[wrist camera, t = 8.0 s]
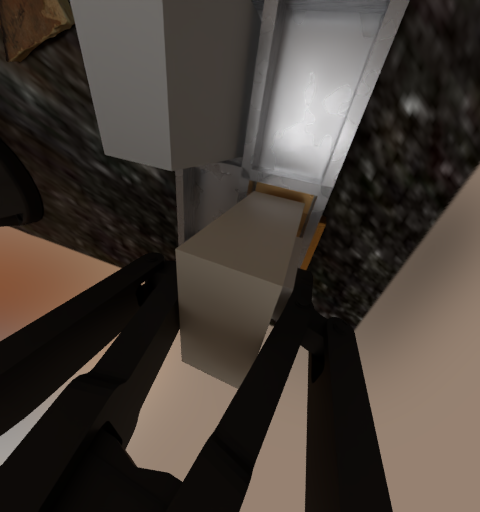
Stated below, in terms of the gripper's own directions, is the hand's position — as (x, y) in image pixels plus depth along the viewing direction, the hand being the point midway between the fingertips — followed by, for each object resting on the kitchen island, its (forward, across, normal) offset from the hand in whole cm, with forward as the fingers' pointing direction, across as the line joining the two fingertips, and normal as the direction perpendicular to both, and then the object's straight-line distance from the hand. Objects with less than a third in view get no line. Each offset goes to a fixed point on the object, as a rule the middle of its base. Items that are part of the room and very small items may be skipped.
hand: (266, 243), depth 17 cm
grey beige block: (0, 0, 0) cm, 0 cm away
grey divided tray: (+4, -3, +5) cm, 7 cm away
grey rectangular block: (+3, -6, +10) cm, 12 cm away
